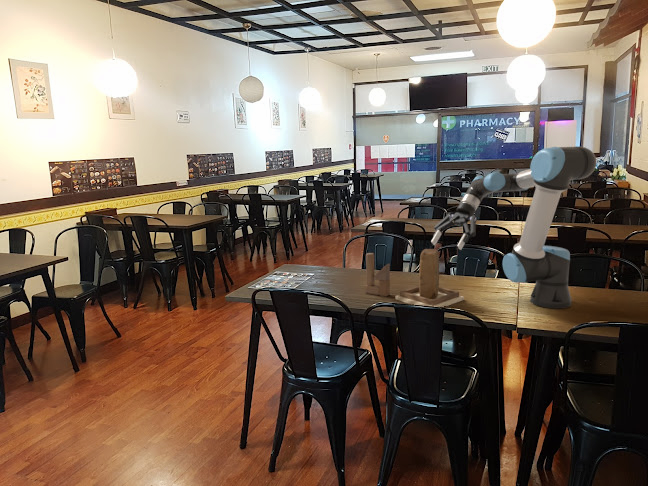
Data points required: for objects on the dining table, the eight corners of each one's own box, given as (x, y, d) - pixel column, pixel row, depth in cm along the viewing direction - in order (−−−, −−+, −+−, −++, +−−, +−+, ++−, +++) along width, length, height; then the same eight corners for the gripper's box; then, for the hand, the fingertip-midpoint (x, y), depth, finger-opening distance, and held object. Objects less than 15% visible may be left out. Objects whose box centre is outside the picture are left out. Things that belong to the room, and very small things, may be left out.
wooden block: (386, 296, 212) (386, 256, 209) (364, 293, 218) (364, 253, 215) (390, 294, 215) (390, 254, 212) (368, 291, 221) (368, 252, 218)
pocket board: (463, 300, 205) (463, 292, 204) (432, 310, 193) (433, 302, 192) (426, 289, 221) (426, 282, 220) (395, 299, 208) (395, 291, 208)
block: (435, 300, 200) (436, 253, 196) (417, 299, 203) (418, 252, 199) (440, 293, 210) (441, 247, 206) (422, 291, 213) (423, 246, 209)
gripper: (496, 215, 208) (474, 255, 201) (447, 210, 227) (426, 246, 220) (489, 203, 203) (467, 244, 197) (440, 199, 222) (418, 236, 216)
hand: (445, 245), depth 209 cm, fingers open, 13 cm apart
